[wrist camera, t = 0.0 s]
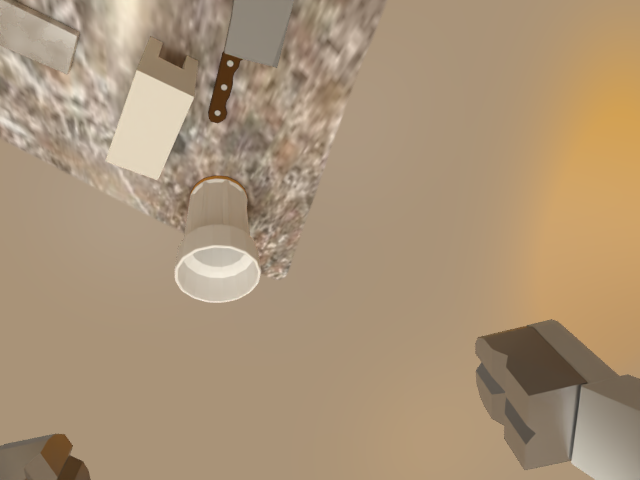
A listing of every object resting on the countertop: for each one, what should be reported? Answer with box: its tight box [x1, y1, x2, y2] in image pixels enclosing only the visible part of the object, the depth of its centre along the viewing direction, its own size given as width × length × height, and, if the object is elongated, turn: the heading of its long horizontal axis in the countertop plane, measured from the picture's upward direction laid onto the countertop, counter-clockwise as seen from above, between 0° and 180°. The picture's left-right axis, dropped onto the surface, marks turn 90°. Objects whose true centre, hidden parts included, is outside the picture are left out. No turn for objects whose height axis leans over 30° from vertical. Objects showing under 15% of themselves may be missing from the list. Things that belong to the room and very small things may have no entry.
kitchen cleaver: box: [208, 0, 294, 123], centre depth 52 cm, size 24×1×10 cm
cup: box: [175, 176, 261, 302], centre depth 61 cm, size 11×11×17 cm
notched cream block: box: [106, 36, 198, 180], centre depth 50 cm, size 13×6×11 cm, turn 147°
